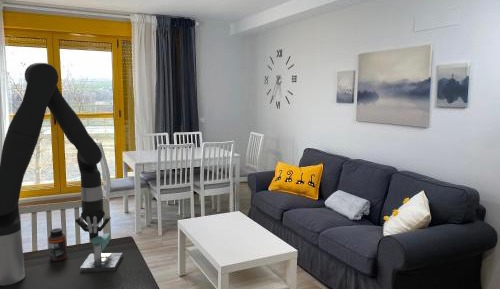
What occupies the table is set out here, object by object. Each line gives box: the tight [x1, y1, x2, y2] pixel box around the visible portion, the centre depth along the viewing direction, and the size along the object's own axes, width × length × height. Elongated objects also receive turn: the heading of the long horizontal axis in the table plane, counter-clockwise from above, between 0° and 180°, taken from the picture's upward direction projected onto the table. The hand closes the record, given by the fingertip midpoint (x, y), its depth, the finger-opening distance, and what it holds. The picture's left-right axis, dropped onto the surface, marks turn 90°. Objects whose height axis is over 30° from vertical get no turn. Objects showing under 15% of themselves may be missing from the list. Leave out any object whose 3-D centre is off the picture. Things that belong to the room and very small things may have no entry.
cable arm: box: [90, 232, 111, 252], centre depth 147 cm, size 4×15×6 cm, turn 4°
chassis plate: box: [79, 243, 123, 273], centre depth 147 cm, size 12×12×10 cm
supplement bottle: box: [47, 227, 68, 262], centre depth 151 cm, size 6×6×11 cm
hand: (94, 241), depth 152 cm, fingers closed
